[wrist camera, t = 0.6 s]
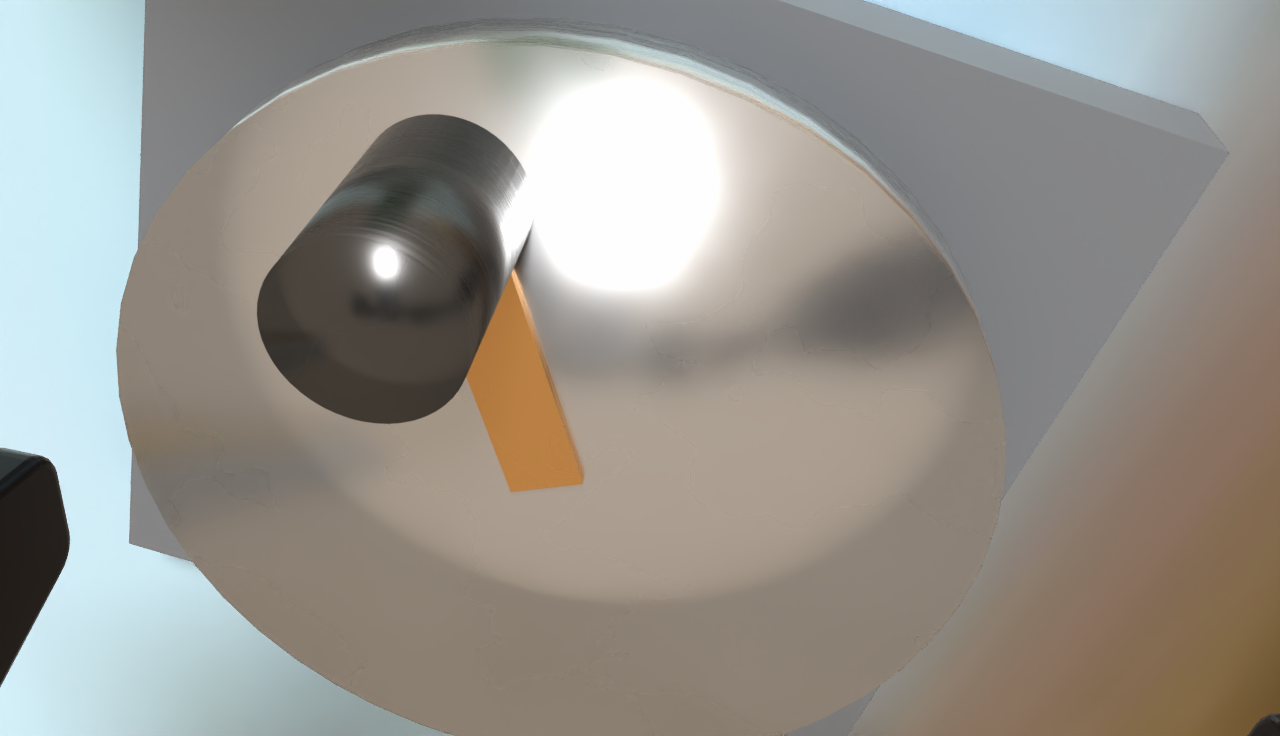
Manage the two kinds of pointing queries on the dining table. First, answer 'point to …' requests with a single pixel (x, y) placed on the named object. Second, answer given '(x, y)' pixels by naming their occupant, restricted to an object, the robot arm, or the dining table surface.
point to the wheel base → (849, 94)
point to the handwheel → (564, 387)
